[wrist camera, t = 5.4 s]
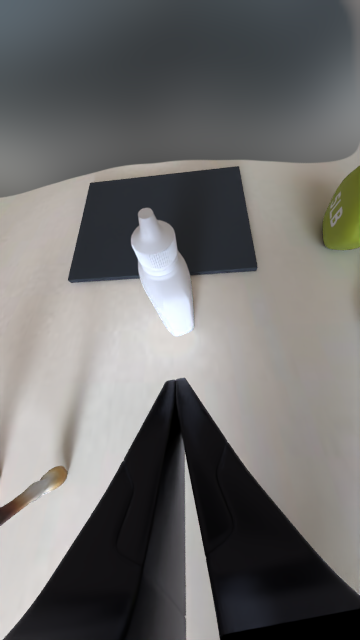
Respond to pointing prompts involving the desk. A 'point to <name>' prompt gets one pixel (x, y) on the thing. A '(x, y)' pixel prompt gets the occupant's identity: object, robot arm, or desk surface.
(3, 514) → the horse figurine
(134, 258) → the mat
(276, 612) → the robot arm
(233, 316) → the desk surface
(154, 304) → the eye dropper bottle
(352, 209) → the dumbbell
